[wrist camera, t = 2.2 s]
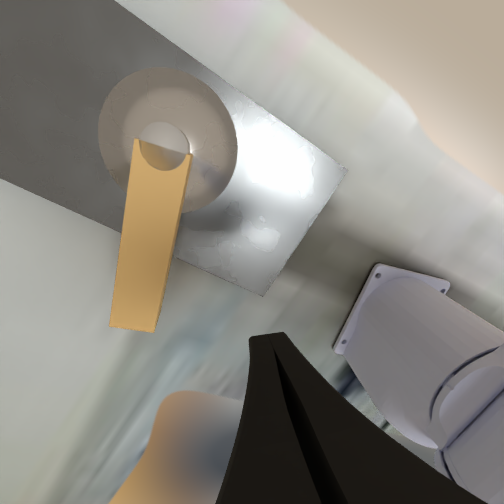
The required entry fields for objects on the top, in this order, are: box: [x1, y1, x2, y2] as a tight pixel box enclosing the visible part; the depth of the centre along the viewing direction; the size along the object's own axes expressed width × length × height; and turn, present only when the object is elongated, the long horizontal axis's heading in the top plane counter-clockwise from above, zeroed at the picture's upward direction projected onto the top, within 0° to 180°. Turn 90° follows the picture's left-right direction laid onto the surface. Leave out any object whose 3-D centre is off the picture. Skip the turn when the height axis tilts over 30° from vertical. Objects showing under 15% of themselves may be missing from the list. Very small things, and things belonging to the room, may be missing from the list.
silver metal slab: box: [0, 0, 348, 297], centre depth 15 cm, size 20×11×3 cm, turn 59°
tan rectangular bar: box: [109, 122, 193, 333], centre depth 14 cm, size 11×2×2 cm, turn 163°
